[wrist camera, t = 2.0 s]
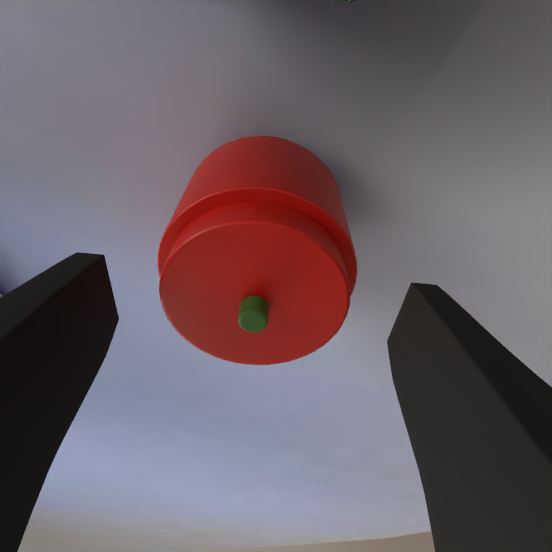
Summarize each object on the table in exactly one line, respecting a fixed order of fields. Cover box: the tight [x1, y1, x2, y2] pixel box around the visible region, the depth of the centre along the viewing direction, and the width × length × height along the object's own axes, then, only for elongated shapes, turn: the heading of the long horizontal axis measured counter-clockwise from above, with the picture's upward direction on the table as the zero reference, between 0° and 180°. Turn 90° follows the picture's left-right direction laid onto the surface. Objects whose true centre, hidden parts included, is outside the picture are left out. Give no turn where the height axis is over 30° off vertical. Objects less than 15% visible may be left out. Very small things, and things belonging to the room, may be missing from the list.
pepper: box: [158, 136, 357, 365], centre depth 11 cm, size 5×5×6 cm
